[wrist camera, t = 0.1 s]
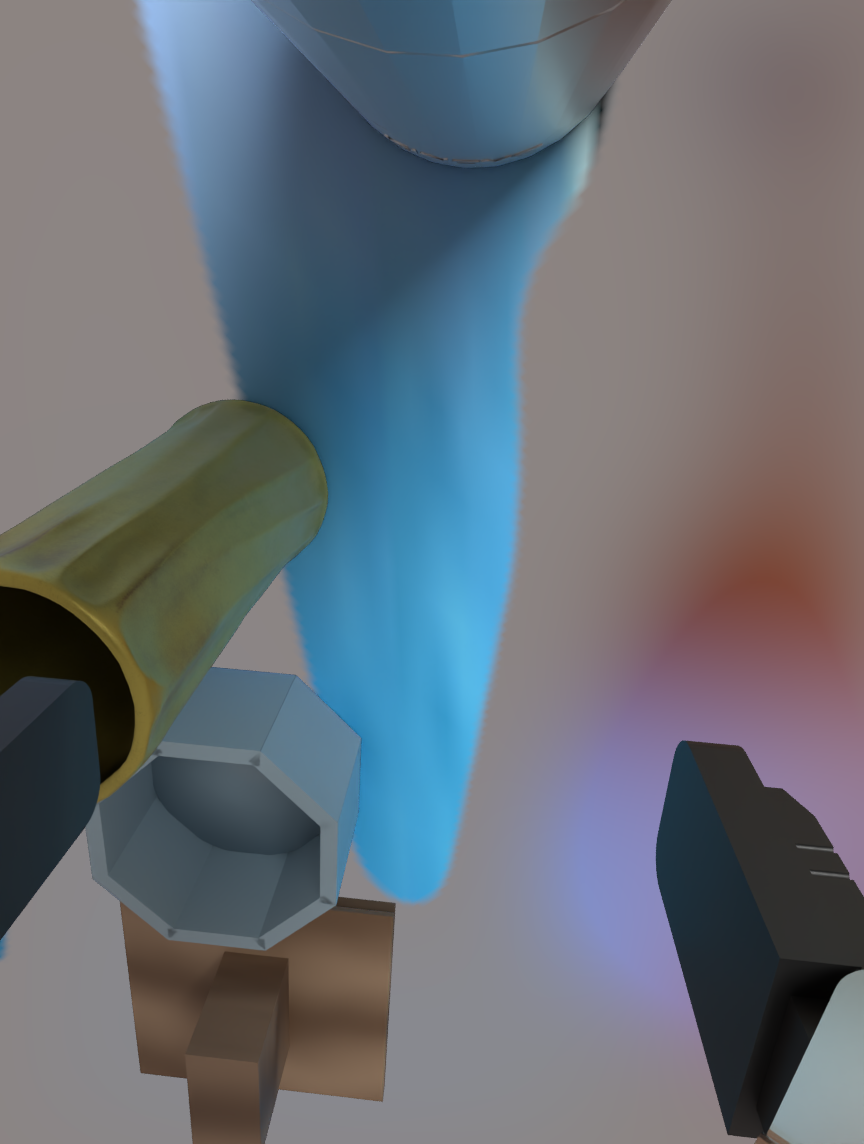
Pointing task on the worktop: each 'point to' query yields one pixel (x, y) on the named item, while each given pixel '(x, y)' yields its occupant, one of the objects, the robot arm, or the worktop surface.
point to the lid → (265, 1016)
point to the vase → (157, 569)
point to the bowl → (234, 815)
